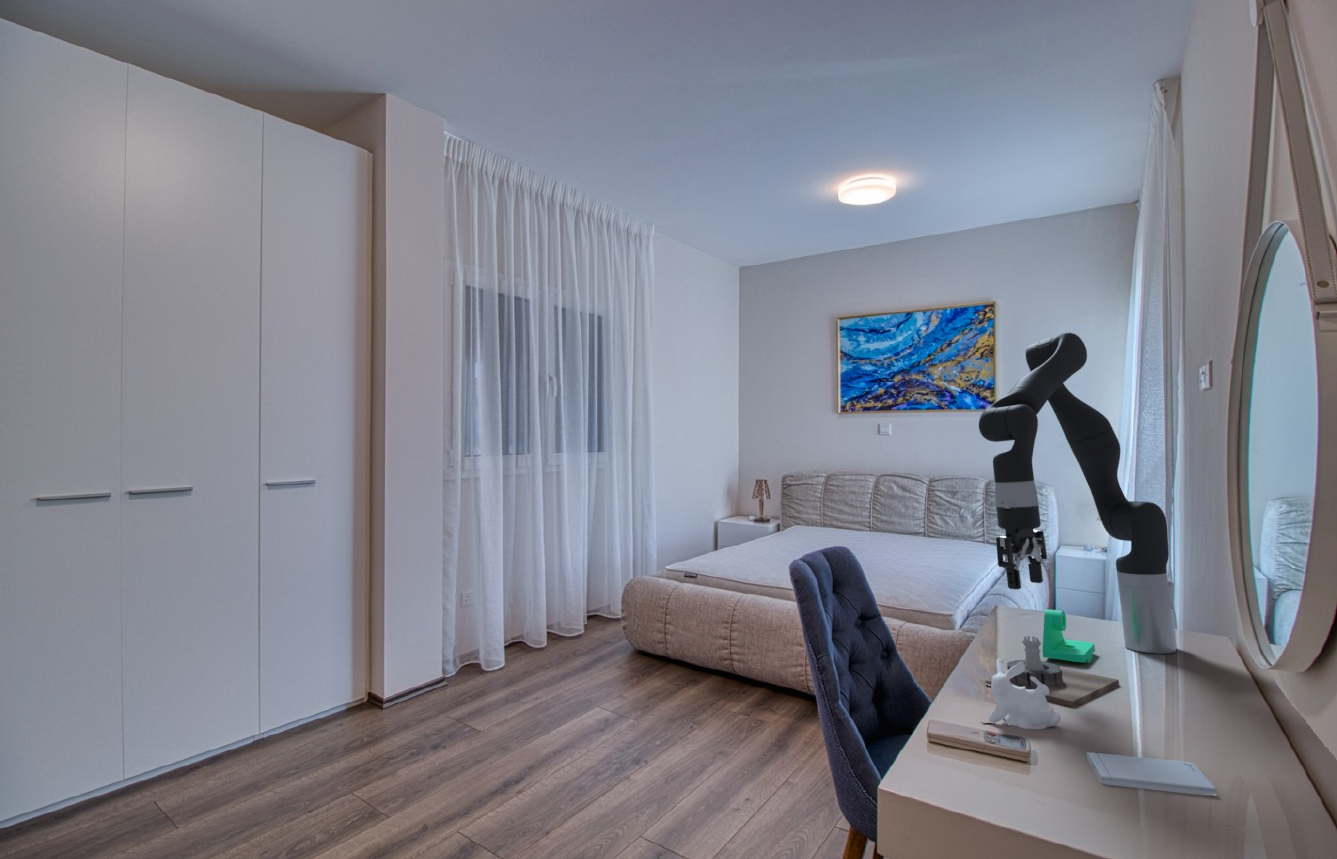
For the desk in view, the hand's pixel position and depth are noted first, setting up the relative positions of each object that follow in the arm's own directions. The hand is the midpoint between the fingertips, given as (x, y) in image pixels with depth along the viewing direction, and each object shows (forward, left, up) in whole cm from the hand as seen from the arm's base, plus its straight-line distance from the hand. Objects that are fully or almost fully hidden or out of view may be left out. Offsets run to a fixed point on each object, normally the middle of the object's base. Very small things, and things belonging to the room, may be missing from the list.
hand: (1025, 585), depth 125 cm
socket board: (-1, +2, -19) cm, 19 cm away
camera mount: (-22, -4, -19) cm, 30 cm away
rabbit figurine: (+20, +8, -19) cm, 29 cm away
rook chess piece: (+1, 0, -18) cm, 18 cm away
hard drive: (+27, +28, -20) cm, 44 cm away
